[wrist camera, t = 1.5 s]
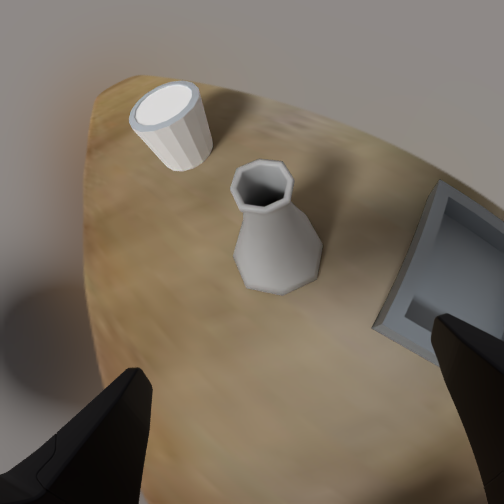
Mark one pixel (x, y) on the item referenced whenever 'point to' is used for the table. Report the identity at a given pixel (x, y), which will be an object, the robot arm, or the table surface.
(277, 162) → the light grey vase
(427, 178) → the table surface
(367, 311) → the table surface
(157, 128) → the white cup
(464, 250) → the tray
